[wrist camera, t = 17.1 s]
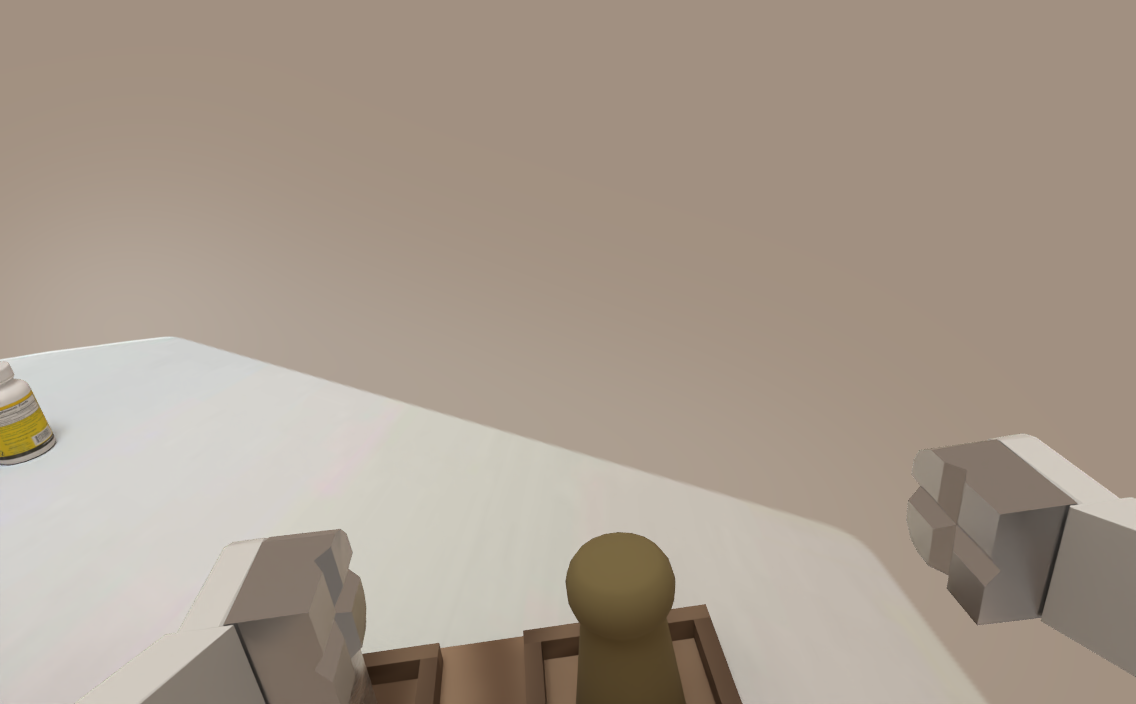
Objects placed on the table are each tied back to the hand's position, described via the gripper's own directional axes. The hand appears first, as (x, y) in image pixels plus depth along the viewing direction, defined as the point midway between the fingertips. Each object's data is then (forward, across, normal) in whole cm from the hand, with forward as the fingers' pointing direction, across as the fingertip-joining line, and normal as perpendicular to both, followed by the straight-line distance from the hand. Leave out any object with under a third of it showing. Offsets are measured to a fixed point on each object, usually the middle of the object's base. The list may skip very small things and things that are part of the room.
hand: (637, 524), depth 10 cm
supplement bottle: (+59, +56, +28) cm, 86 cm away
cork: (+17, -1, +27) cm, 32 cm away
